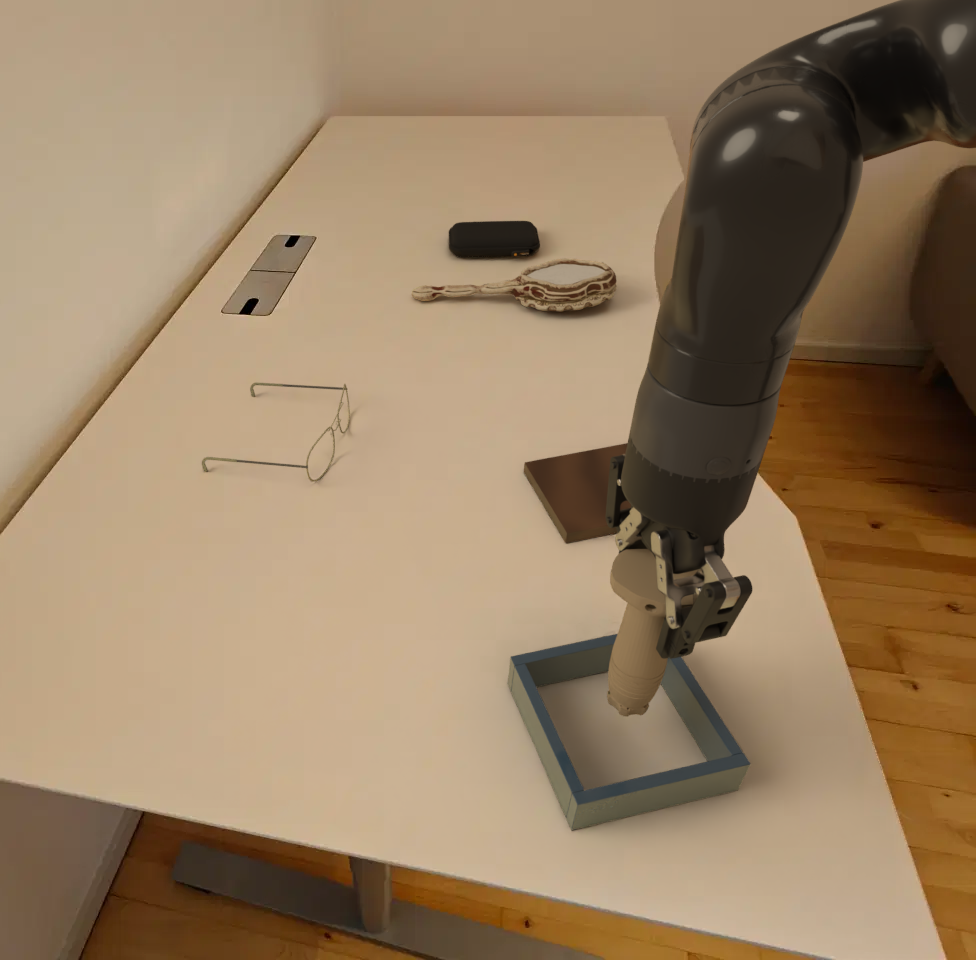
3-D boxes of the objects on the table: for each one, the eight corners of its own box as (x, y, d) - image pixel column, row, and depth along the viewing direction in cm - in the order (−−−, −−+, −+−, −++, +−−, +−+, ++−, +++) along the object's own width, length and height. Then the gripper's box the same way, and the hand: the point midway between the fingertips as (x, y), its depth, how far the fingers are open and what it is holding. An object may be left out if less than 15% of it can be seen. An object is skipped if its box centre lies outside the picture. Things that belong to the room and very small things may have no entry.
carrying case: (448, 264, 136) (541, 263, 135) (449, 247, 134) (542, 245, 133) (448, 236, 144) (535, 234, 143) (448, 219, 142) (536, 217, 141)
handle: (594, 666, 70) (621, 540, 61) (674, 693, 68) (715, 565, 58) (579, 711, 67) (604, 586, 57) (662, 741, 65) (703, 615, 55)
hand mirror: (414, 265, 132) (614, 251, 125) (417, 302, 134) (612, 289, 128) (406, 284, 122) (621, 269, 116) (409, 323, 125) (619, 311, 118)
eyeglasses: (320, 490, 97) (317, 456, 93) (202, 471, 101) (195, 439, 97) (358, 409, 108) (356, 377, 105) (251, 395, 112) (246, 364, 109)
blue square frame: (652, 651, 77) (660, 624, 74) (738, 790, 66) (751, 764, 64) (507, 683, 75) (510, 656, 73) (571, 830, 65) (577, 805, 62)
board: (636, 450, 98) (638, 440, 97) (689, 518, 89) (692, 508, 88) (523, 472, 97) (524, 462, 96) (565, 543, 88) (567, 533, 87)
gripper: (833, 500, 45) (754, 687, 56) (692, 360, 56) (649, 540, 67) (702, 527, 44) (648, 711, 55) (585, 380, 55) (560, 558, 66)
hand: (649, 616), depth 61 cm, fingers closed on handle, 6 cm apart
